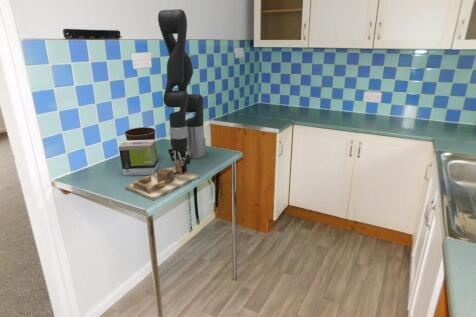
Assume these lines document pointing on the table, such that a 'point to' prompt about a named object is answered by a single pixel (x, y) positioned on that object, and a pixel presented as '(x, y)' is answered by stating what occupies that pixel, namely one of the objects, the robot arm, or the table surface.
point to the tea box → (139, 157)
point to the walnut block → (169, 173)
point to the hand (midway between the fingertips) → (181, 171)
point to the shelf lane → (160, 185)
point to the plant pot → (140, 134)
